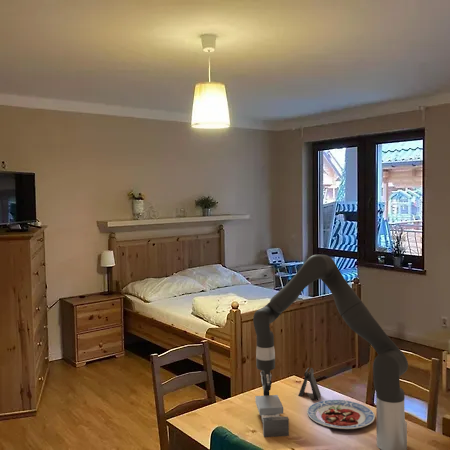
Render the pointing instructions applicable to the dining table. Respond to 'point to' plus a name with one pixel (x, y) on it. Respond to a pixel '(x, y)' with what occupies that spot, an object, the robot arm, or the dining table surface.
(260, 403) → the slab
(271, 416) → the roller middle
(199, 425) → the dining table surface
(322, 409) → the ceramic plate
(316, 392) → the grey a-frame stand
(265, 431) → the bar
